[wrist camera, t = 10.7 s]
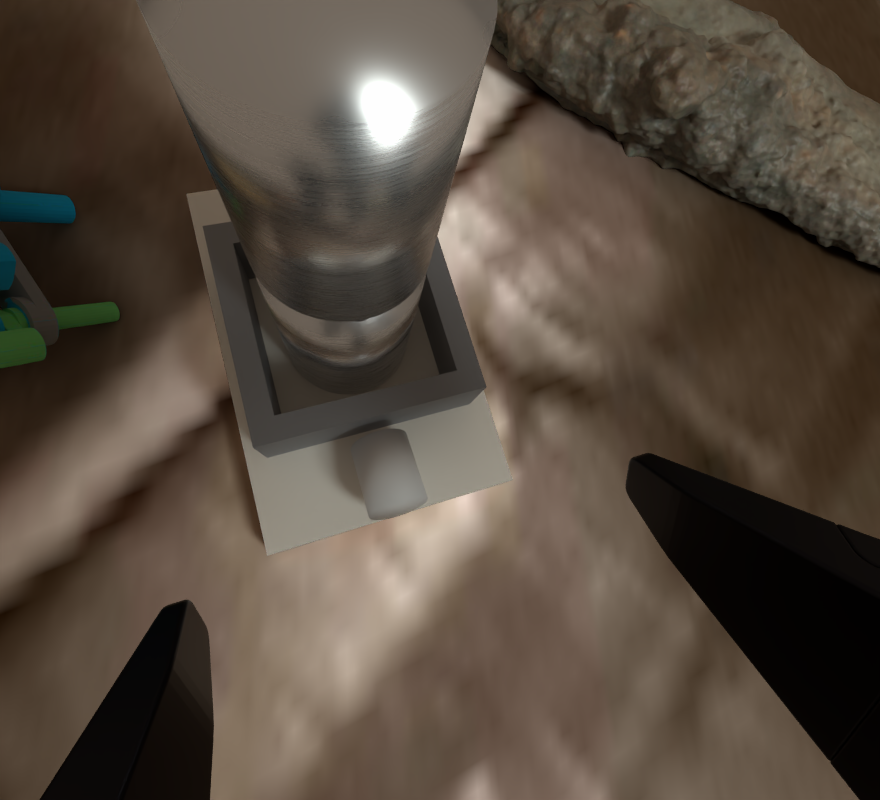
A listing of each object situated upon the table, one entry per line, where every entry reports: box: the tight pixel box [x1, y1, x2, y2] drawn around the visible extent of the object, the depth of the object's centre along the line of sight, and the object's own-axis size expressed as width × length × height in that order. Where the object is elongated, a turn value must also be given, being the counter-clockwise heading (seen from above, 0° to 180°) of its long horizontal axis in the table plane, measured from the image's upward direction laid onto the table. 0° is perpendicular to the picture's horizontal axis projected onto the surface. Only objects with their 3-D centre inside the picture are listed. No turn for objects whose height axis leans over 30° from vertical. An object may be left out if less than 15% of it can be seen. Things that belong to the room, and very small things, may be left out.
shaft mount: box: [186, 189, 513, 556], centre depth 18 cm, size 14×9×4 cm, turn 17°
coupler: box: [136, 0, 497, 394], centre depth 12 cm, size 4×4×13 cm
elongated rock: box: [490, 0, 880, 268], centre depth 24 cm, size 35×5×10 cm
